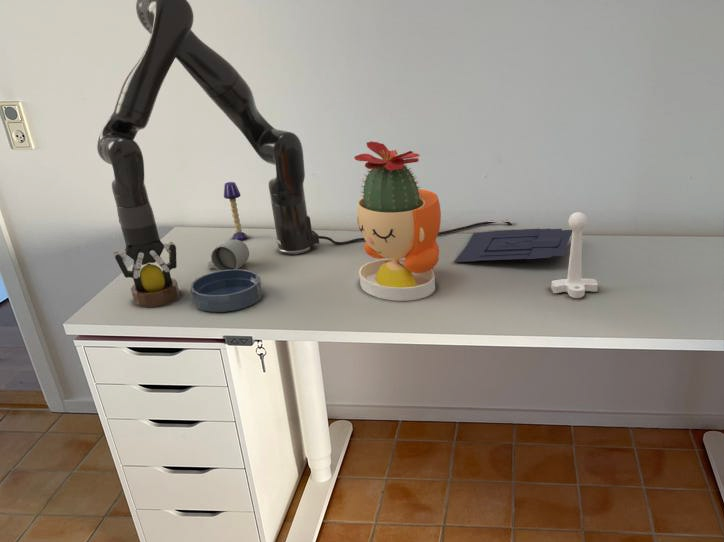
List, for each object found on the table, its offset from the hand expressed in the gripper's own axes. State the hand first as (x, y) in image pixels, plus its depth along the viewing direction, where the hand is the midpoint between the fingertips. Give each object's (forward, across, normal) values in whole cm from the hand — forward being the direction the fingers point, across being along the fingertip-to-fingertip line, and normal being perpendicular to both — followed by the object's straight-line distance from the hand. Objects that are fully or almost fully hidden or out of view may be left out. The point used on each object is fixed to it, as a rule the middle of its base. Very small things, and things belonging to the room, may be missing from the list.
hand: (154, 287), depth 175 cm
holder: (+3, 0, 0) cm, 3 cm away
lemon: (+2, 0, 0) cm, 2 cm away
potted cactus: (+3, +56, -24) cm, 61 cm away
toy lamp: (+3, +29, +32) cm, 43 cm away
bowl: (+3, +15, -10) cm, 18 cm away
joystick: (+3, +89, -53) cm, 104 cm away
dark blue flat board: (+3, +92, -22) cm, 95 cm away
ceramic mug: (+3, +20, +10) cm, 22 cm away
